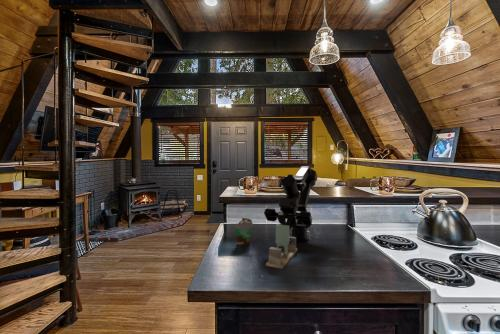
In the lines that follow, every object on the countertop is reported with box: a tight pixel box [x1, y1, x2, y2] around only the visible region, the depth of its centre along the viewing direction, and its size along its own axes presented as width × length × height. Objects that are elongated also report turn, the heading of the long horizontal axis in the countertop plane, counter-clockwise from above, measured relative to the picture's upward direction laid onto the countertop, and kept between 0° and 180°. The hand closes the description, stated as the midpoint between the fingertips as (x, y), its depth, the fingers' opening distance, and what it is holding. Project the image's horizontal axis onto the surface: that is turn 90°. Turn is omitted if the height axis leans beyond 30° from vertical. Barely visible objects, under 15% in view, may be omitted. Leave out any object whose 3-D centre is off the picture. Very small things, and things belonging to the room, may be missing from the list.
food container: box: [235, 217, 254, 247], centre depth 121 cm, size 12×6×10 cm, turn 168°
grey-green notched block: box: [275, 223, 290, 254], centre depth 103 cm, size 3×5×10 cm, turn 65°
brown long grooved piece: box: [265, 235, 298, 270], centre depth 104 cm, size 20×6×6 cm, turn 155°
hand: (283, 235), depth 104 cm, fingers closed, pressing on grey-green notched block
